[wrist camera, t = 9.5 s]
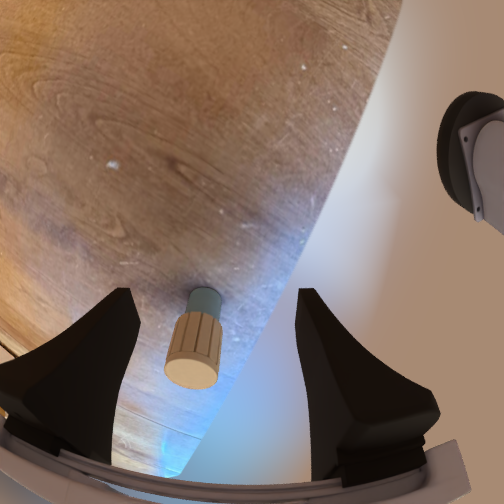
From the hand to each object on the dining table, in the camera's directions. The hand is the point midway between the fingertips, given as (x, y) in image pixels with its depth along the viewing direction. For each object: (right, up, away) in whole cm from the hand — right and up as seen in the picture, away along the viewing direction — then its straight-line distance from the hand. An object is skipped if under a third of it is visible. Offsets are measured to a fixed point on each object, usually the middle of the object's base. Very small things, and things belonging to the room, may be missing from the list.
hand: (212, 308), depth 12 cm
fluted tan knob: (-2, -4, +9) cm, 10 cm away
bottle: (-2, -2, +12) cm, 13 cm away
